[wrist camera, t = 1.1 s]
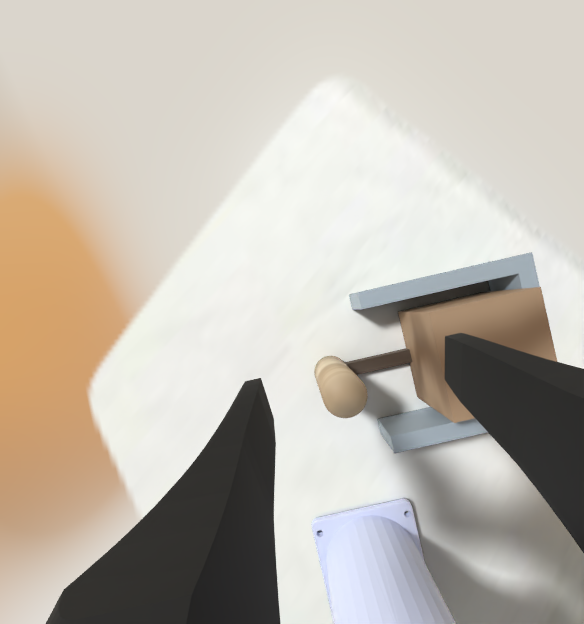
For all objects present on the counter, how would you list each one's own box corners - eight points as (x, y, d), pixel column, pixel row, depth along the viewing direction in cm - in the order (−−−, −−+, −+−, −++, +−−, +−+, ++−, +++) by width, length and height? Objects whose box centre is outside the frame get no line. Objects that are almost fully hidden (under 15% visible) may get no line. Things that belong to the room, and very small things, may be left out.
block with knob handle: (503, 377, 22) (582, 403, 16) (324, 418, 22) (336, 459, 16) (483, 292, 22) (556, 285, 16) (305, 333, 22) (309, 342, 16)
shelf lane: (530, 399, 22) (568, 414, 19) (380, 433, 22) (394, 453, 19) (499, 260, 22) (532, 252, 19) (348, 294, 22) (357, 292, 19)
